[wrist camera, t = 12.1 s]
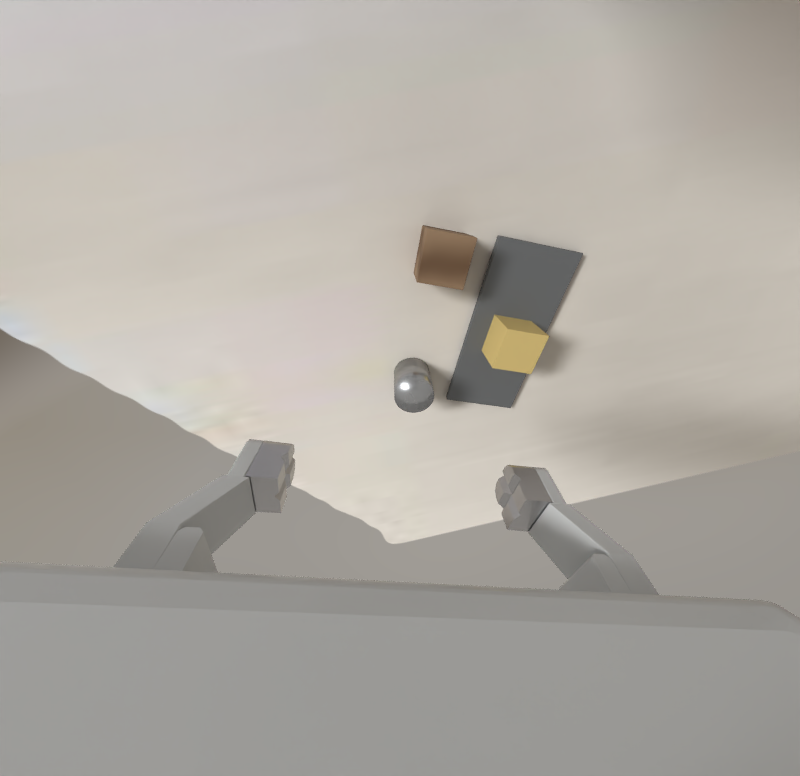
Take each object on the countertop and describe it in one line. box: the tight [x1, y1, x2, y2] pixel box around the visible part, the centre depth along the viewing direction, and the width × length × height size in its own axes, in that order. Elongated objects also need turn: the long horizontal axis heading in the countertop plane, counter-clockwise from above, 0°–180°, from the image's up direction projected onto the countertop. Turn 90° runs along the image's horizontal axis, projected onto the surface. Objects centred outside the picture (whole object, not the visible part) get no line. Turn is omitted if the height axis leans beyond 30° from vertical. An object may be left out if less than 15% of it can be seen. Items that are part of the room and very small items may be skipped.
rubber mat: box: [447, 235, 583, 408], centre depth 39 cm, size 22×10×1 cm, turn 170°
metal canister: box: [394, 358, 434, 413], centre depth 40 cm, size 5×5×6 cm
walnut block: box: [414, 225, 477, 290], centre depth 32 cm, size 5×5×5 cm
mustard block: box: [482, 315, 549, 374], centre depth 36 cm, size 5×5×5 cm
